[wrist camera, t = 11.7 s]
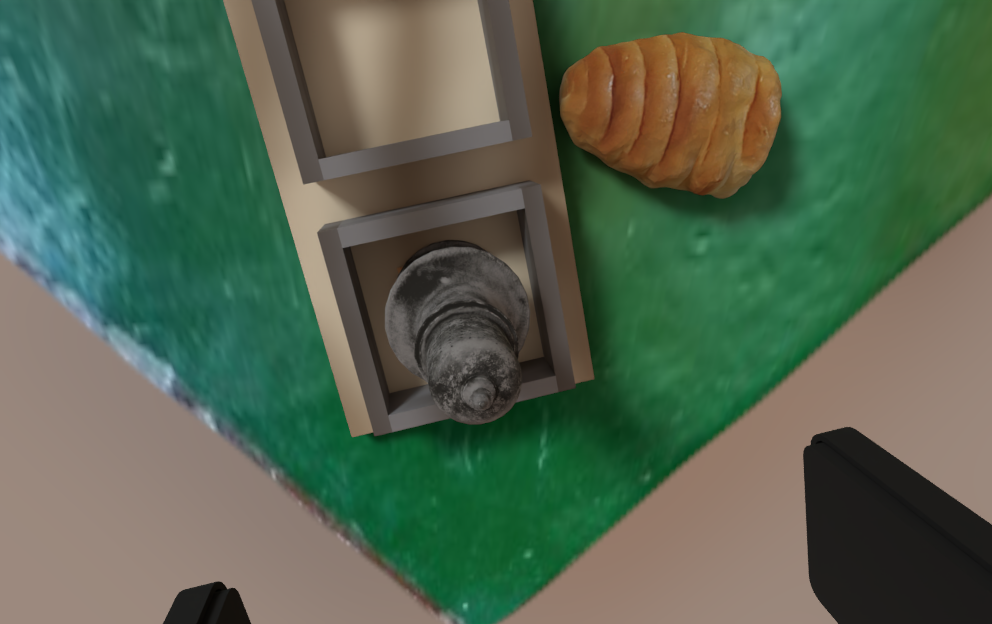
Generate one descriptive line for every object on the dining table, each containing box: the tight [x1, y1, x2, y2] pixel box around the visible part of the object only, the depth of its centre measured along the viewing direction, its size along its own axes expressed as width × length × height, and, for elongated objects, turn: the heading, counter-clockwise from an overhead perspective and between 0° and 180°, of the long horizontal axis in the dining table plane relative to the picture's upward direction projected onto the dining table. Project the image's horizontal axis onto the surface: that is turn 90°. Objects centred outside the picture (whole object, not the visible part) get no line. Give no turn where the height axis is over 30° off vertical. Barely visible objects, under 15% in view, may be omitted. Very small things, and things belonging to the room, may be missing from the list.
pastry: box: [559, 32, 782, 199], centre depth 28 cm, size 9×7×4 cm
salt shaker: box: [385, 240, 530, 424], centre depth 23 cm, size 6×6×12 cm
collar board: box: [223, 0, 594, 437], centre depth 27 cm, size 12×22×4 cm, turn 12°
